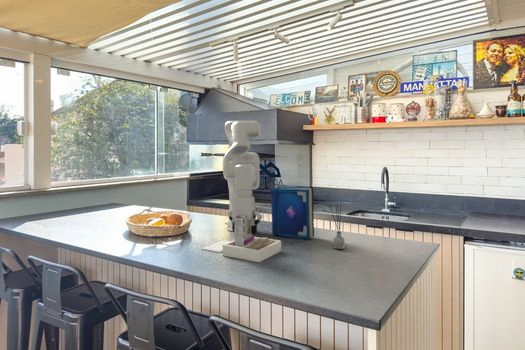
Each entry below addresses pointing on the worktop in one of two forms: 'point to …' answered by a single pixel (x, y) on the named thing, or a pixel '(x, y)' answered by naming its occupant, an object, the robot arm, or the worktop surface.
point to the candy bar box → (242, 231)
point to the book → (292, 212)
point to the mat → (216, 247)
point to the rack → (251, 251)
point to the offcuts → (260, 243)
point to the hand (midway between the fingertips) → (244, 232)
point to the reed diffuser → (338, 234)
